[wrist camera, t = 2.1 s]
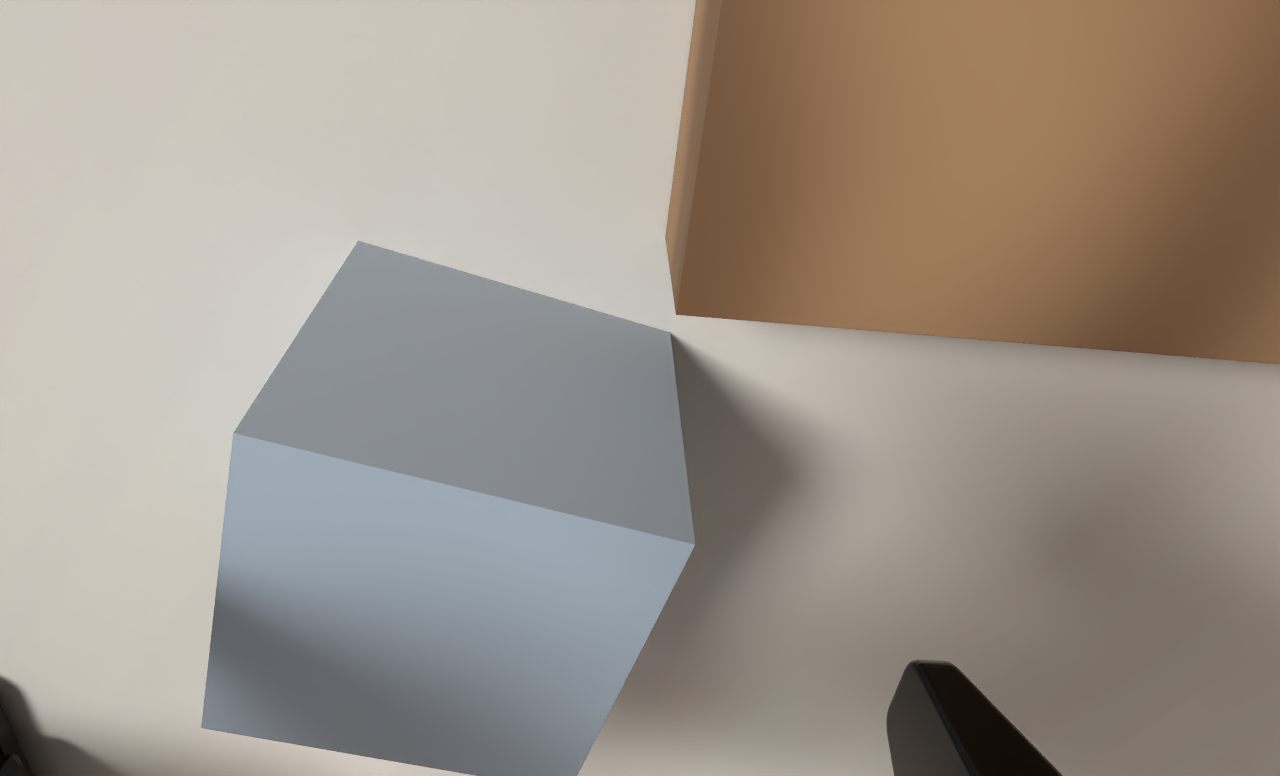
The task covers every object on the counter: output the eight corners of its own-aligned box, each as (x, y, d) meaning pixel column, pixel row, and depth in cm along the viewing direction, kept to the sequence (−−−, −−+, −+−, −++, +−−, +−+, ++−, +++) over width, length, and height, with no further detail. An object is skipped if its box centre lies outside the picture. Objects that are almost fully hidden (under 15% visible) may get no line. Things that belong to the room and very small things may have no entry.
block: (315, 484, 15) (201, 728, 11) (359, 238, 13) (232, 432, 8) (579, 546, 16) (568, 791, 12) (670, 330, 14) (695, 544, 9)
